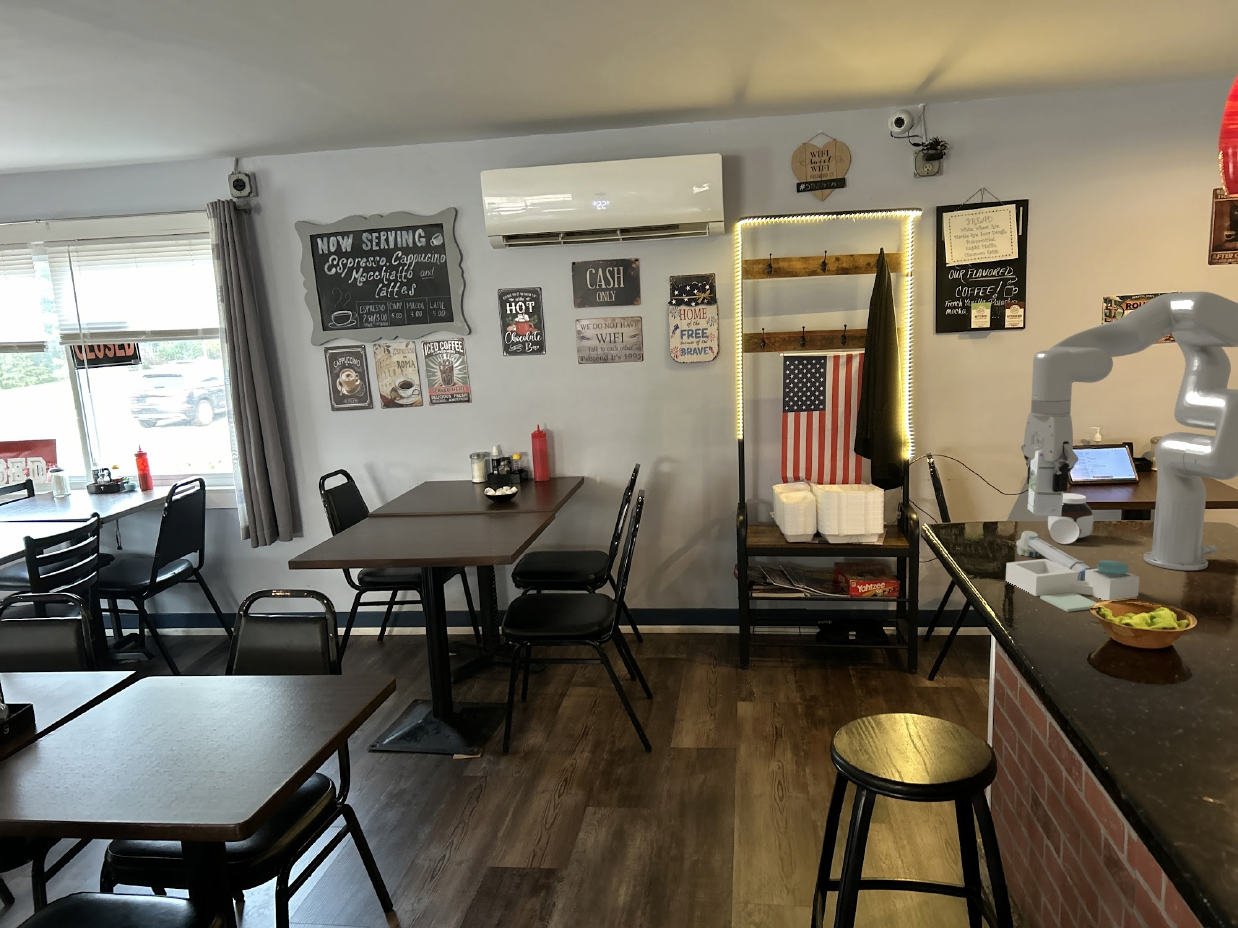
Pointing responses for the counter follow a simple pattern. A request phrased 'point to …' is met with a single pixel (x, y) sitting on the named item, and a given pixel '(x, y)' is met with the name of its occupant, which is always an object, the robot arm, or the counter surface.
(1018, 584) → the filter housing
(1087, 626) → the counter surface
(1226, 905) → the counter surface
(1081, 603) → the mat
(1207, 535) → the counter surface
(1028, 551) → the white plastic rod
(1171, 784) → the counter surface
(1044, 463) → the syrup box
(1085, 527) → the spread jar
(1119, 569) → the teal mushroom knob
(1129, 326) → the robot arm
